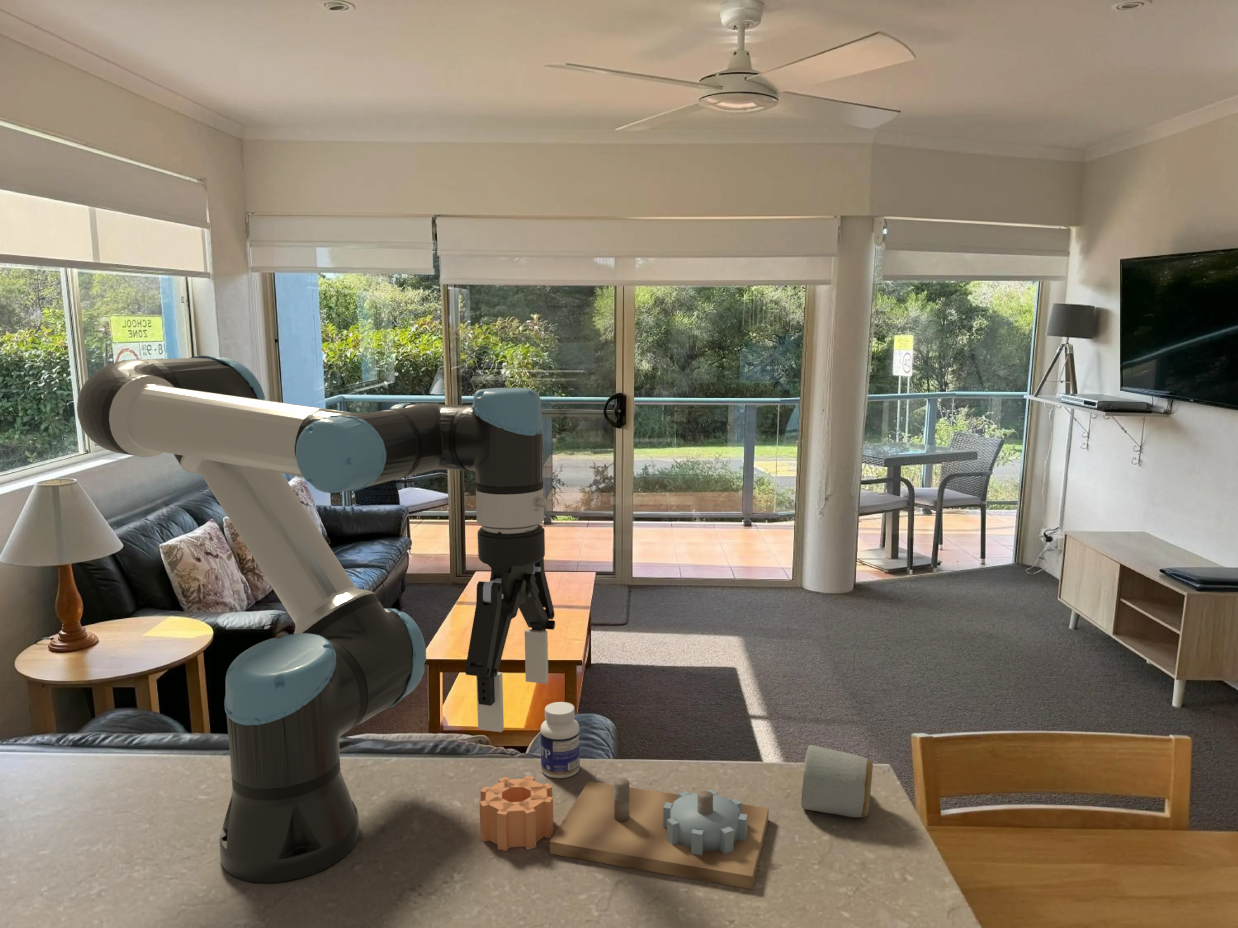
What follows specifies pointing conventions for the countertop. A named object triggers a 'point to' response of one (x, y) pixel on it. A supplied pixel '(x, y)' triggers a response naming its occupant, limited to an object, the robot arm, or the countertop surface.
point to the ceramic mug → (836, 782)
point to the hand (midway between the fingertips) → (515, 704)
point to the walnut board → (652, 835)
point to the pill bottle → (560, 741)
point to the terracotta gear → (516, 813)
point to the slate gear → (705, 823)
